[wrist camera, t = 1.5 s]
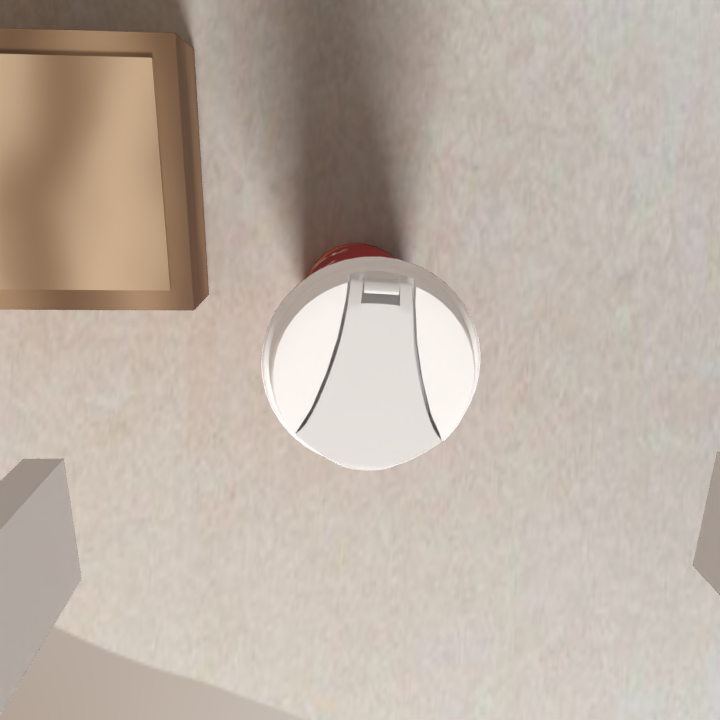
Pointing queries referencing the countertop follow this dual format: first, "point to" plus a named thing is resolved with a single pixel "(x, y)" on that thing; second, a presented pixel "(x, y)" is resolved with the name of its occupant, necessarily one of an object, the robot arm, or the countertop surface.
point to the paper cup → (370, 359)
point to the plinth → (99, 172)
